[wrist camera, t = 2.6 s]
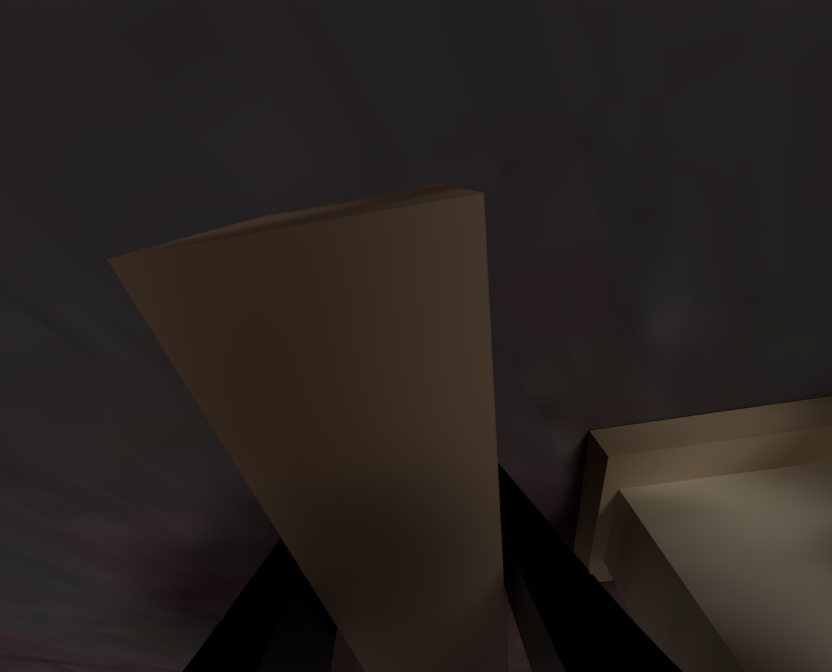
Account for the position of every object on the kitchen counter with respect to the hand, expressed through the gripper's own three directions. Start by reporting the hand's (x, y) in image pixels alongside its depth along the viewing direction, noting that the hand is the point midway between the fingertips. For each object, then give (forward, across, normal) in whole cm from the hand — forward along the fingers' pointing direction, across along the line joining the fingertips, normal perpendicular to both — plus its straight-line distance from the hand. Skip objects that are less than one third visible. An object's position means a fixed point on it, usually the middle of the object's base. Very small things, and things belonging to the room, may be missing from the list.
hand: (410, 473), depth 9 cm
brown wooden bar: (+1, 0, 0) cm, 1 cm away
